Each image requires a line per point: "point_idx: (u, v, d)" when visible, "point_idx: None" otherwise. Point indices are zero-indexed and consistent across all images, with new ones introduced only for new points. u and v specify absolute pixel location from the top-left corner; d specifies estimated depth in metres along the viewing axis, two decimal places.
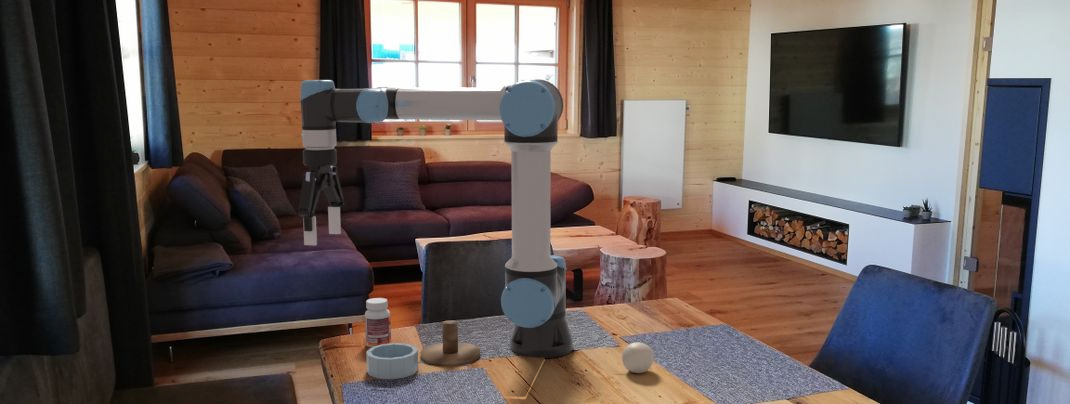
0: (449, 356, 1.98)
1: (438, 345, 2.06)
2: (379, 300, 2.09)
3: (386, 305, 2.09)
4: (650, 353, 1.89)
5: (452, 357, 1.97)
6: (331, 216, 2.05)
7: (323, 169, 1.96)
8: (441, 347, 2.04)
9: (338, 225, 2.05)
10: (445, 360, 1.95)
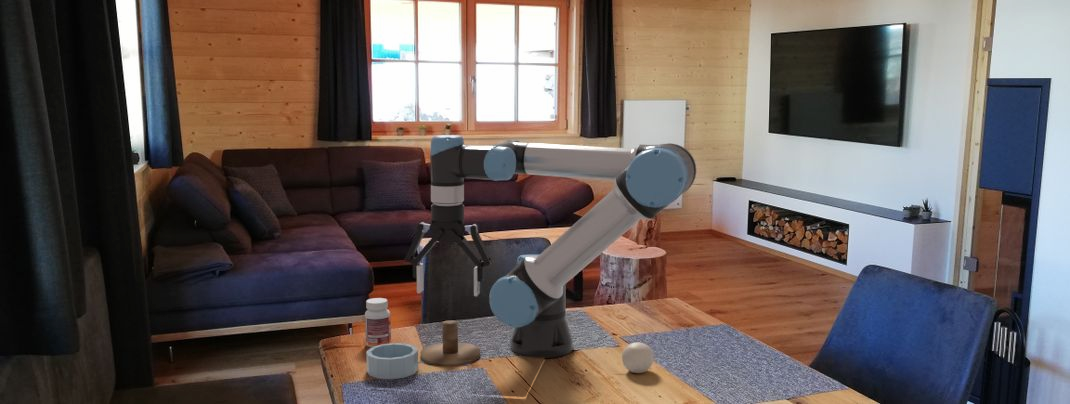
0: (449, 356, 1.98)
1: (438, 345, 2.06)
2: (379, 300, 2.09)
3: (386, 305, 2.09)
4: (650, 353, 1.89)
5: (452, 357, 1.97)
6: None
7: (442, 224, 1.96)
8: (441, 347, 2.04)
9: (474, 286, 1.97)
10: (445, 360, 1.95)
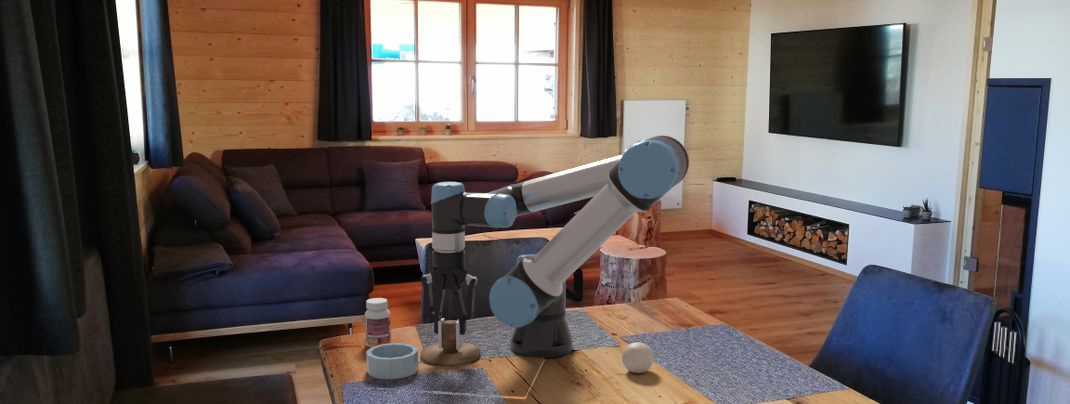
0: (449, 355, 1.98)
1: None
2: (379, 300, 2.09)
3: (386, 305, 2.09)
4: (650, 353, 1.89)
5: (452, 357, 1.97)
6: None
7: (444, 270, 1.97)
8: None
9: (456, 340, 1.99)
10: (446, 360, 1.95)
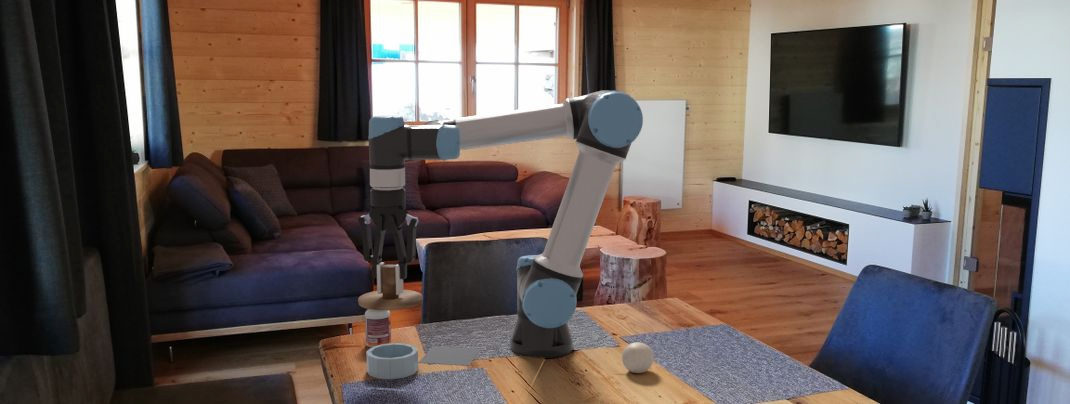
0: (388, 301, 1.86)
1: None
2: None
3: None
4: (650, 353, 1.89)
5: (390, 302, 1.85)
6: None
7: (383, 210, 1.85)
8: (382, 293, 1.92)
9: None
10: (383, 304, 1.83)
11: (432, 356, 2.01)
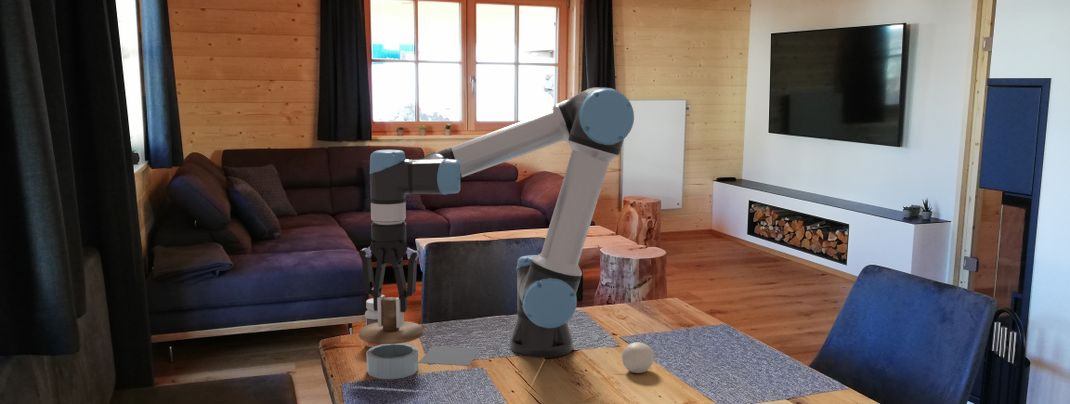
0: (388, 334, 1.87)
1: None
2: None
3: None
4: (650, 353, 1.89)
5: (391, 335, 1.86)
6: None
7: (383, 243, 1.86)
8: None
9: None
10: (384, 338, 1.84)
11: (432, 356, 2.01)
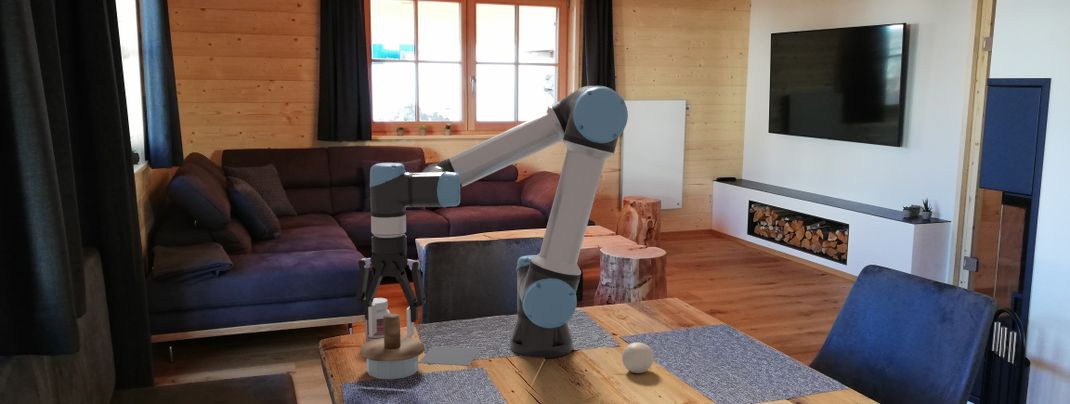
0: (390, 351, 1.87)
1: (381, 340, 1.95)
2: (379, 300, 2.09)
3: (386, 305, 2.09)
4: (650, 353, 1.89)
5: (392, 353, 1.86)
6: None
7: (384, 256, 1.87)
8: (383, 342, 1.94)
9: None
10: (385, 355, 1.85)
11: (432, 356, 2.01)
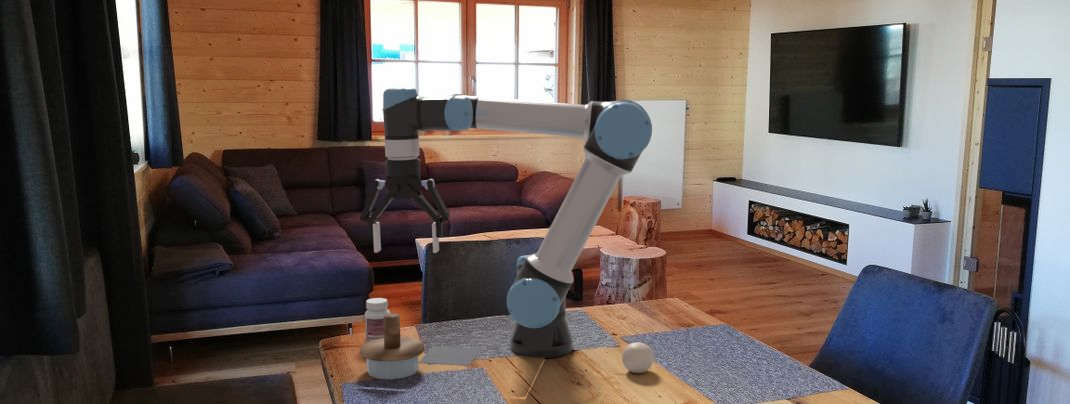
0: (390, 351, 1.87)
1: (381, 340, 1.95)
2: (379, 300, 2.09)
3: (386, 305, 2.09)
4: (650, 353, 1.89)
5: (392, 353, 1.86)
6: None
7: (398, 180, 1.90)
8: (383, 342, 1.94)
9: (433, 243, 1.92)
10: (385, 355, 1.85)
11: (432, 356, 2.01)
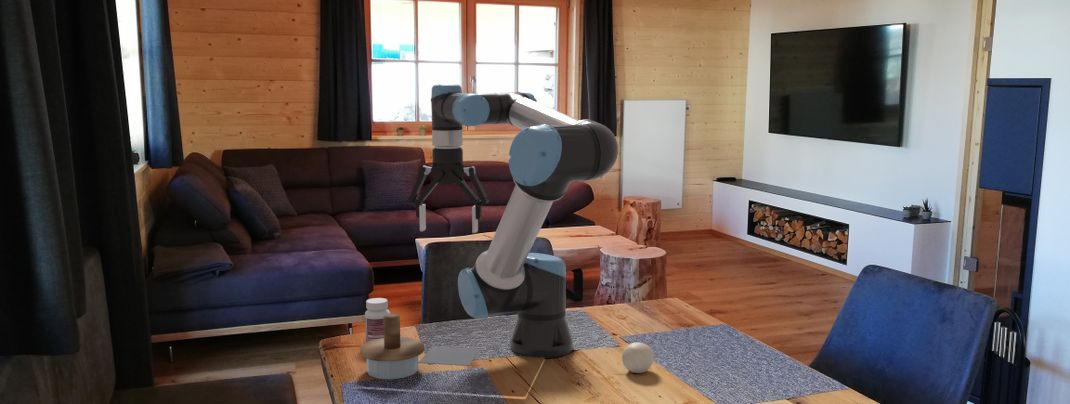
0: (390, 351, 1.87)
1: (381, 340, 1.95)
2: (379, 300, 2.09)
3: (386, 305, 2.09)
4: (650, 353, 1.89)
5: (392, 353, 1.86)
6: None
7: (443, 166, 2.12)
8: (383, 342, 1.94)
9: None
10: (385, 355, 1.85)
11: (432, 356, 2.01)
